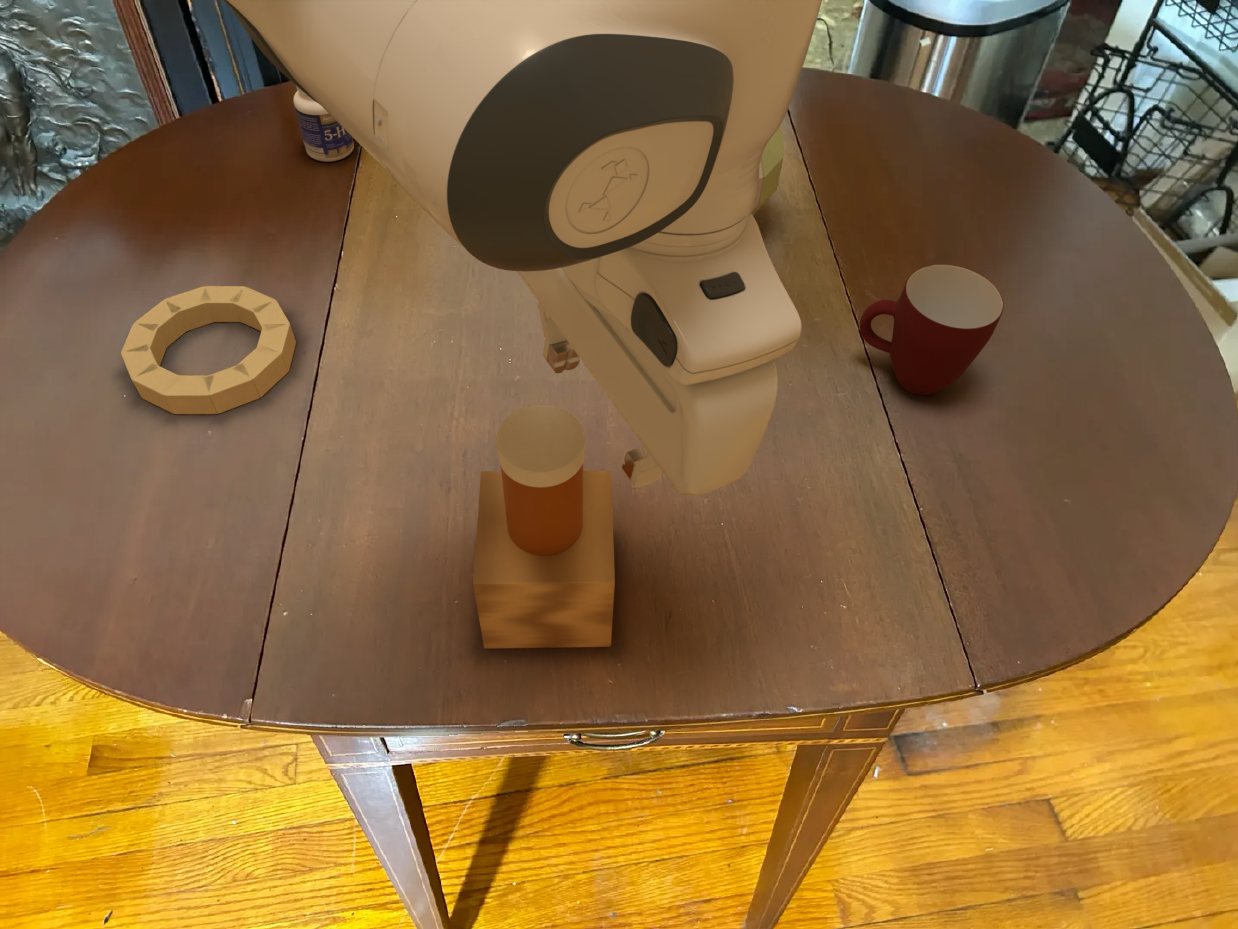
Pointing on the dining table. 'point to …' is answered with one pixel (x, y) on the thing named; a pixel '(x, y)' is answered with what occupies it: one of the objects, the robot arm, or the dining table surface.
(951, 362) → the mug
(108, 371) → the dining table surface
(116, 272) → the dining table surface
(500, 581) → the block stand
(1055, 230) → the dining table surface
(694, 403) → the robot arm
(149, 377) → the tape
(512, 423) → the amber bottle
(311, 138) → the pill bottle
